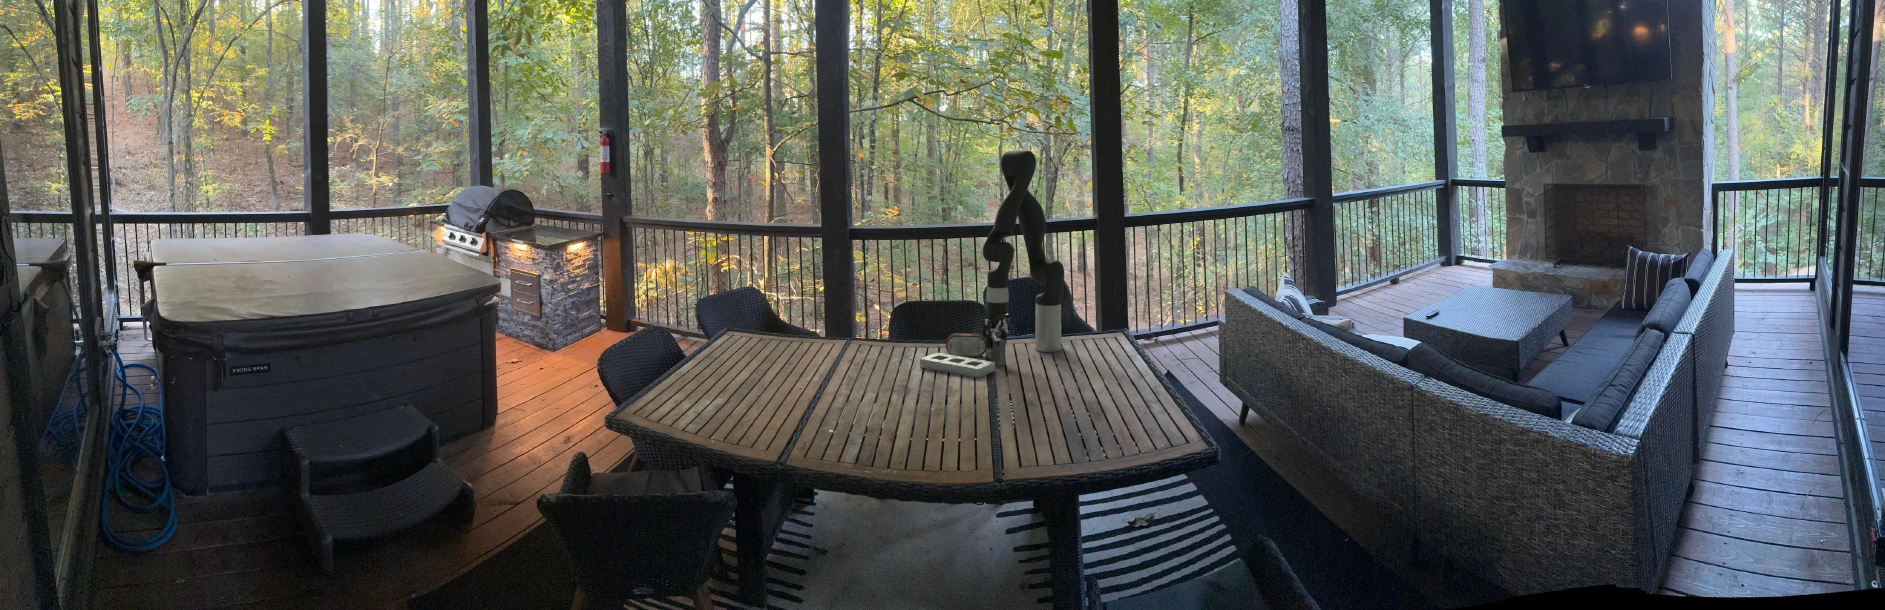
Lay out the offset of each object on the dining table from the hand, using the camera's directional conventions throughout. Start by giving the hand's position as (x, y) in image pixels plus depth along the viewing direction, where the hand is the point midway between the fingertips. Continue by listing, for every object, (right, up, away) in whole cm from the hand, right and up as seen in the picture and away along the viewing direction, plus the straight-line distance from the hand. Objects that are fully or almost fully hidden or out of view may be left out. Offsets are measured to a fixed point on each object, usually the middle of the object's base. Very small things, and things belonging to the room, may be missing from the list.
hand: (996, 346), depth 311 cm
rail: (-14, -8, -3) cm, 16 cm away
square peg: (+1, -7, +2) cm, 7 cm away
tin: (-10, -5, +14) cm, 17 cm away
